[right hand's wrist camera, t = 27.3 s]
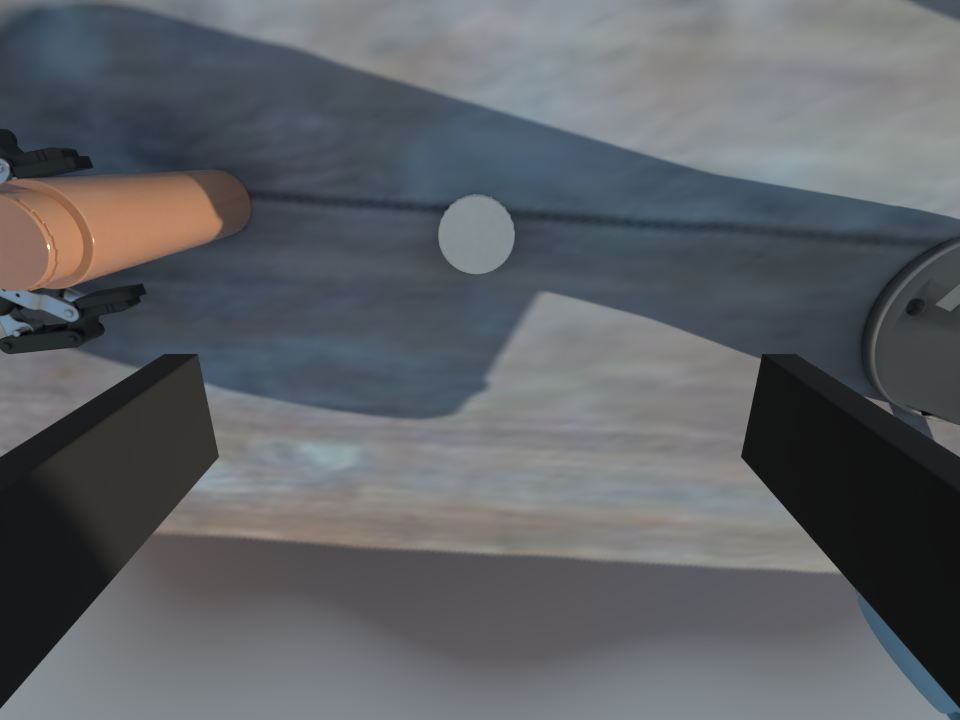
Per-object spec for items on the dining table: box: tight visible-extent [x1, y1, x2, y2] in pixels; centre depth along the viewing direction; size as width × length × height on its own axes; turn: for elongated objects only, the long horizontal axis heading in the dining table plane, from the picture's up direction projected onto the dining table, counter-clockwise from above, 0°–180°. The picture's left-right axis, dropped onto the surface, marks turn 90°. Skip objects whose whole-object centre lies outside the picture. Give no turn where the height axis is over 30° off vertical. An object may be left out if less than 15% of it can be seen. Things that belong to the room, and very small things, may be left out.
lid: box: [438, 193, 515, 274], centre depth 39 cm, size 6×6×2 cm
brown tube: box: [0, 169, 251, 291], centre depth 30 cm, size 5×5×19 cm
